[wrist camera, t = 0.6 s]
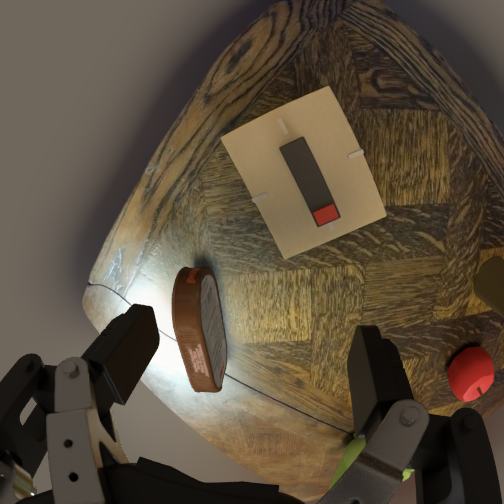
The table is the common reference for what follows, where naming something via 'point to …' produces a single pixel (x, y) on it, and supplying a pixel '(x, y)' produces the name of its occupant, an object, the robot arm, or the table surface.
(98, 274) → the table surface
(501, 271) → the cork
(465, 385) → the apple
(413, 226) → the table surface
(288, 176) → the panel
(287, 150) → the red tipped black brick
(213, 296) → the tin
